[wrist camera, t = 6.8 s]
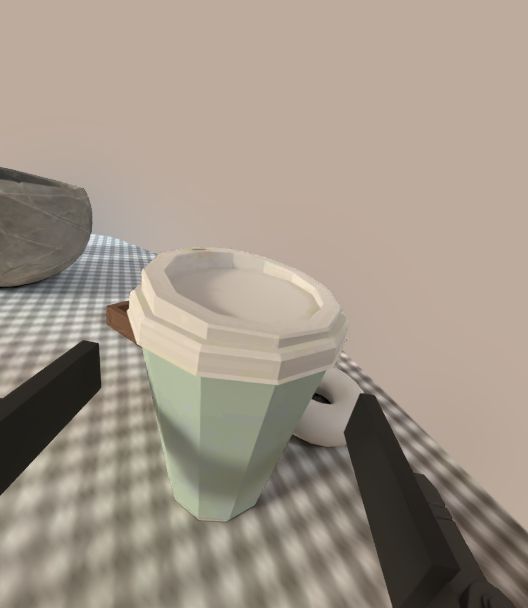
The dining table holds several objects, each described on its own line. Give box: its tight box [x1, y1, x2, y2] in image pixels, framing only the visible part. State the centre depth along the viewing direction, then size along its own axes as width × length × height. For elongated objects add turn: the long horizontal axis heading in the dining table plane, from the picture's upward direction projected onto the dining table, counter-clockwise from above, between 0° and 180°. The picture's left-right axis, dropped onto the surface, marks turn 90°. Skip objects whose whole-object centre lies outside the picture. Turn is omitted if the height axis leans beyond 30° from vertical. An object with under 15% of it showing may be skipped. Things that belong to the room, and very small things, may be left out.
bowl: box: [0, 167, 92, 287], centre depth 36 cm, size 21×21×15 cm
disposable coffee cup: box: [127, 247, 349, 522], centre depth 15 cm, size 11×11×15 cm
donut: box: [293, 367, 364, 447], centre depth 25 cm, size 10×4×10 cm
